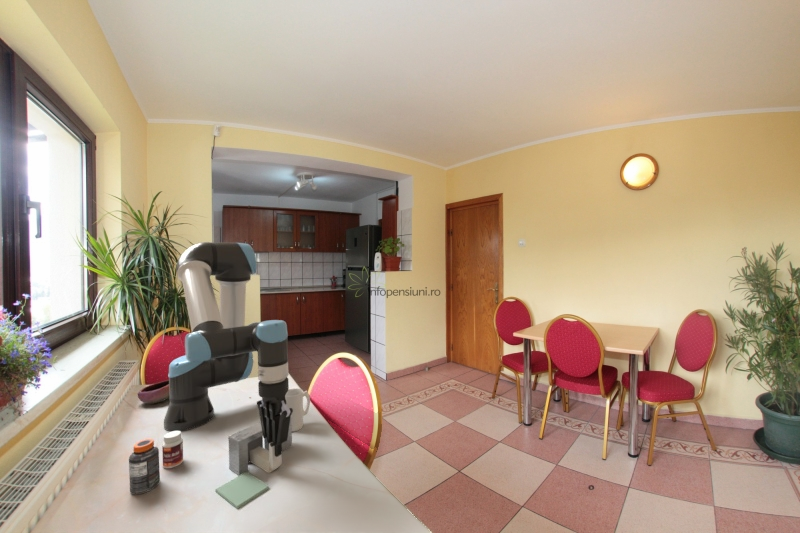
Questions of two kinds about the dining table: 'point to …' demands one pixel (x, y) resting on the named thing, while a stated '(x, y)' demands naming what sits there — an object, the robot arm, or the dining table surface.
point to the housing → (240, 446)
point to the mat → (241, 489)
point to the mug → (297, 406)
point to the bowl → (154, 392)
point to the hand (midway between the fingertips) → (275, 466)
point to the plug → (259, 454)
